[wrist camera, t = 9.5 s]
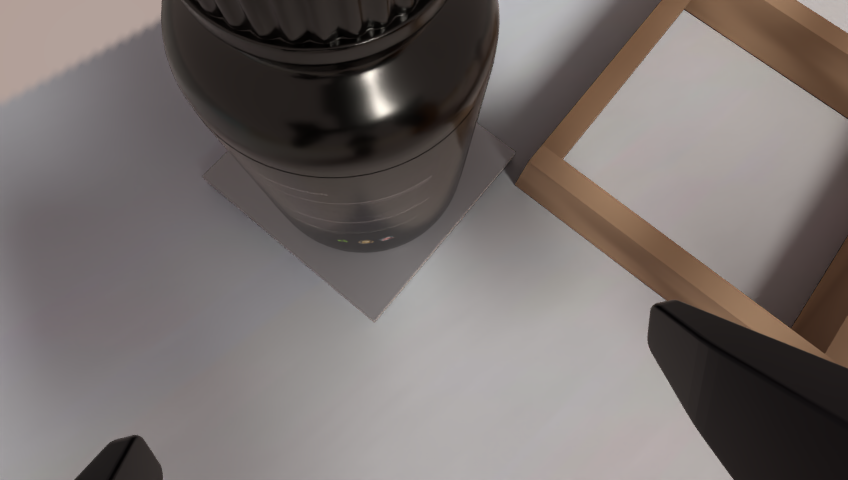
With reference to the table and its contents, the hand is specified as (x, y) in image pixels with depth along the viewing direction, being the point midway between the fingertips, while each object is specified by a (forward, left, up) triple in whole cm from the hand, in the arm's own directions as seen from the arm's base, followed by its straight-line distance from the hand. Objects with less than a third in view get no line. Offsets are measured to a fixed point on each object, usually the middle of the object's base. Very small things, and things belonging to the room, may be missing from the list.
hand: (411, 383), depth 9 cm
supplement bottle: (+6, -5, -8) cm, 11 cm away
